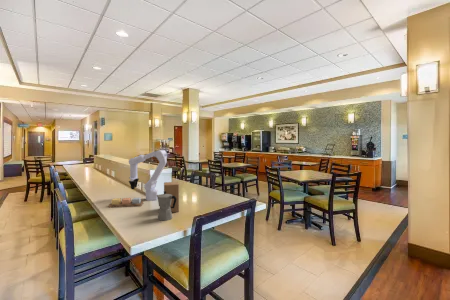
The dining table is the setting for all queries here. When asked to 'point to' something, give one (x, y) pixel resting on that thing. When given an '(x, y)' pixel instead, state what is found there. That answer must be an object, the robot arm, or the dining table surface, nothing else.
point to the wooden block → (173, 194)
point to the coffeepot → (165, 206)
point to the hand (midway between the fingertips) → (134, 188)
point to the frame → (125, 205)
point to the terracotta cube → (126, 200)
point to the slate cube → (136, 200)
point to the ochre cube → (116, 201)
